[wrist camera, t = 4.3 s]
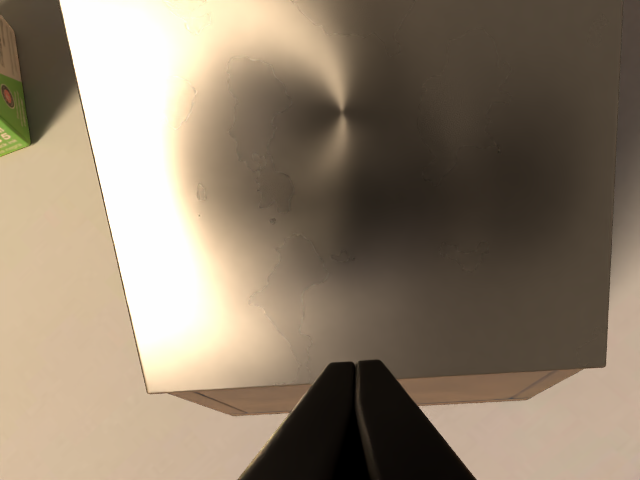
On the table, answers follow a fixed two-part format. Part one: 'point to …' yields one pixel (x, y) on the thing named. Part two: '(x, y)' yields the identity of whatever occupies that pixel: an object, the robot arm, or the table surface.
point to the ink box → (11, 95)
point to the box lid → (354, 182)
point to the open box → (418, 389)
